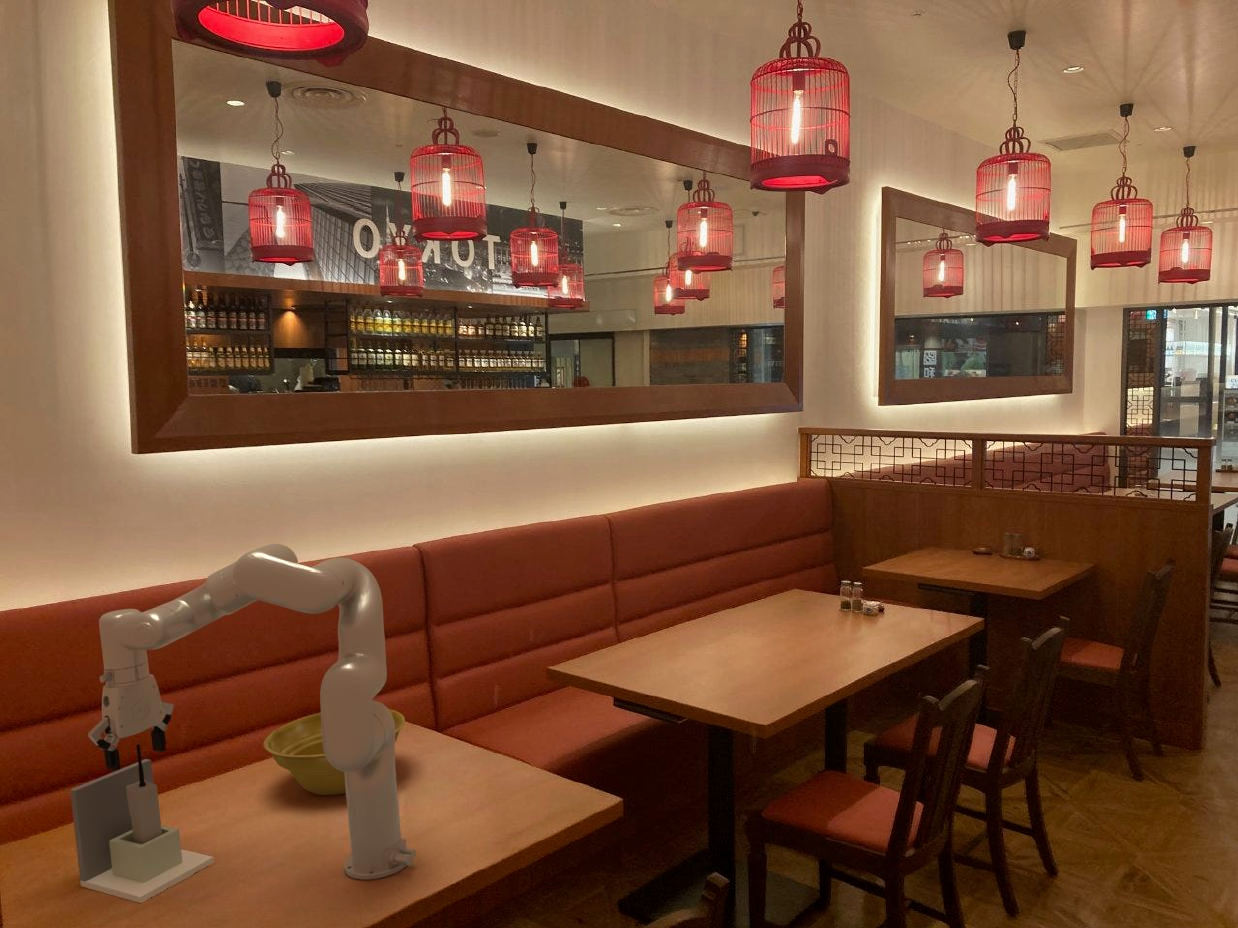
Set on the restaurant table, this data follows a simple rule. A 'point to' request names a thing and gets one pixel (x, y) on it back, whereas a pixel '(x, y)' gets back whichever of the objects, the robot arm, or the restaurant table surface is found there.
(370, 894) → the restaurant table surface
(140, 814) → the vintage mobile phone
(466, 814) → the restaurant table surface
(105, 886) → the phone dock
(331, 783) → the planter bowl
